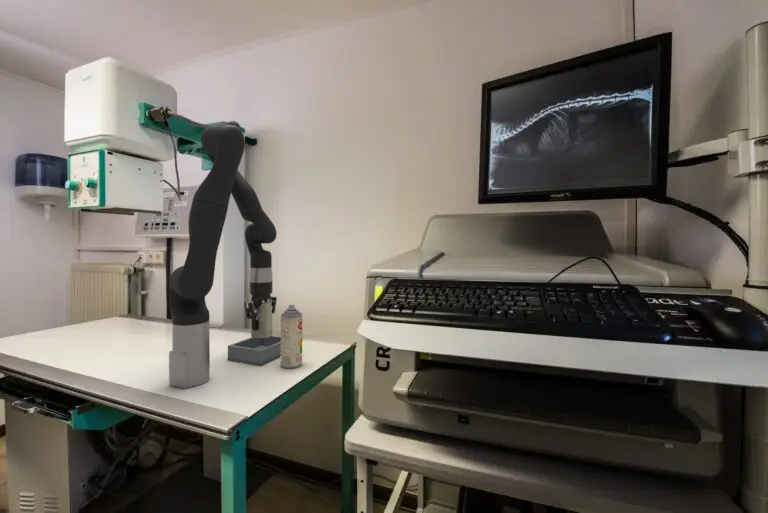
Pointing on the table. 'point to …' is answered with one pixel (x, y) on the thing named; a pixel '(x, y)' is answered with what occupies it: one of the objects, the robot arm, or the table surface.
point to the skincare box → (263, 322)
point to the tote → (255, 350)
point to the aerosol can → (291, 338)
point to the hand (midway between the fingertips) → (261, 328)
